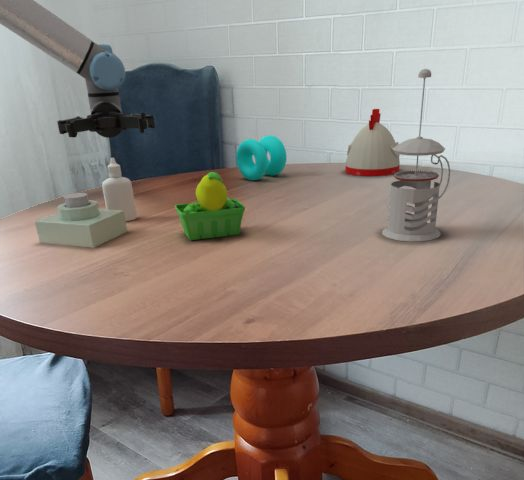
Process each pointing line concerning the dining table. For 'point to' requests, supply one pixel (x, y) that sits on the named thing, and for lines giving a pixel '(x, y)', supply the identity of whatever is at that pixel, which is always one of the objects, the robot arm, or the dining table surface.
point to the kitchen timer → (372, 150)
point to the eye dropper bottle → (119, 192)
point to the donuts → (261, 157)
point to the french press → (415, 190)
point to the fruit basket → (211, 211)
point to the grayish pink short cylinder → (76, 200)
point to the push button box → (81, 226)
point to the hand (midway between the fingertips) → (107, 127)
